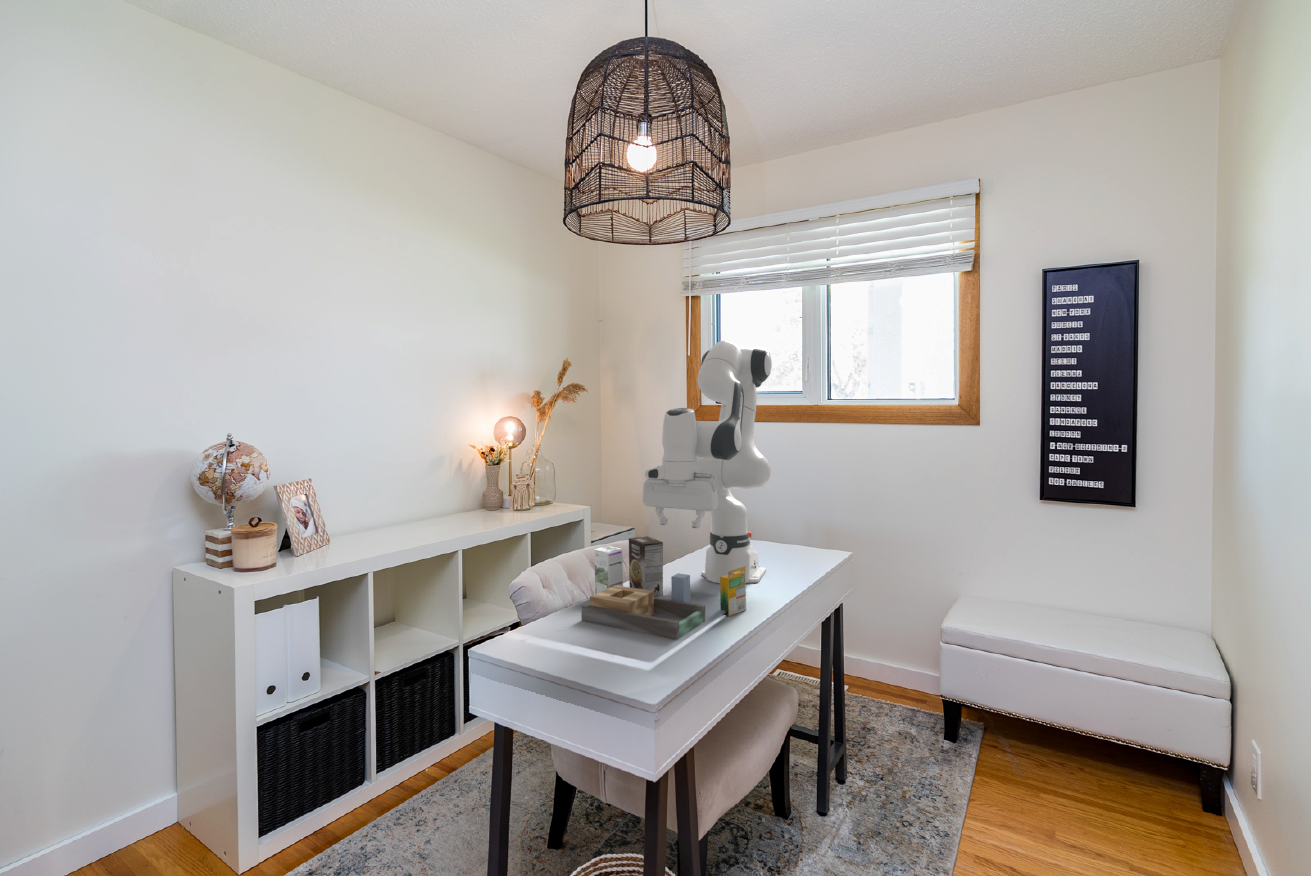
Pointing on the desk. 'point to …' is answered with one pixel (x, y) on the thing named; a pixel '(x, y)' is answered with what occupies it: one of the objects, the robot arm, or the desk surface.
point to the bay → (650, 618)
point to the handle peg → (681, 587)
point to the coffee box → (646, 564)
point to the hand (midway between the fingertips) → (679, 526)
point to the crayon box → (733, 592)
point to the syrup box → (608, 568)
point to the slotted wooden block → (625, 600)
